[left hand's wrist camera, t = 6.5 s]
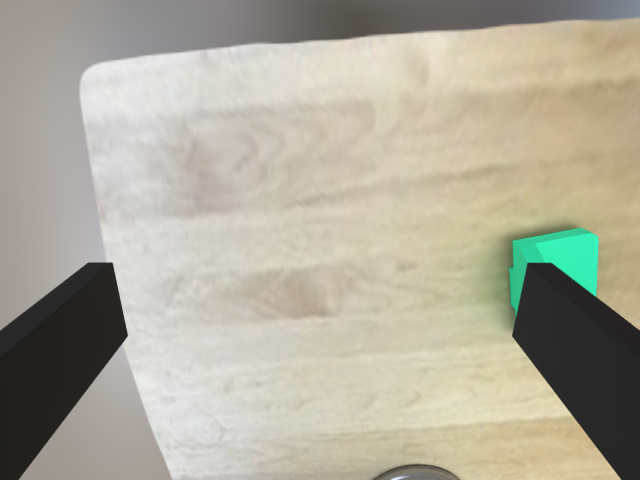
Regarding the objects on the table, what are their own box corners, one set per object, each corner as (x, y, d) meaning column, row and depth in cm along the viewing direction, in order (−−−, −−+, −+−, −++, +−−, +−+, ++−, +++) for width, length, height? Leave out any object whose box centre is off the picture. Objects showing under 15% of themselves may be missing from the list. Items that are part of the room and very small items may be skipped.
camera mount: (579, 319, 46) (648, 382, 36) (512, 331, 46) (562, 396, 37) (582, 222, 41) (661, 264, 32) (507, 236, 42) (563, 282, 32)
